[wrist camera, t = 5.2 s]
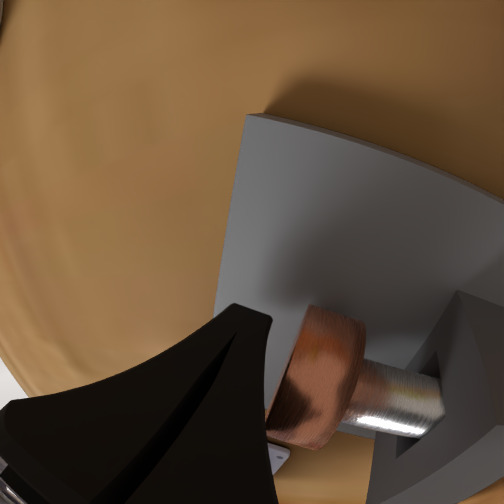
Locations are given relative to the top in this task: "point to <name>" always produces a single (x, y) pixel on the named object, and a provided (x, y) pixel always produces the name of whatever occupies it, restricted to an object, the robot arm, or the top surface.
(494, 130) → the top surface
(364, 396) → the shaft
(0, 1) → the ramekin
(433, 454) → the housing
